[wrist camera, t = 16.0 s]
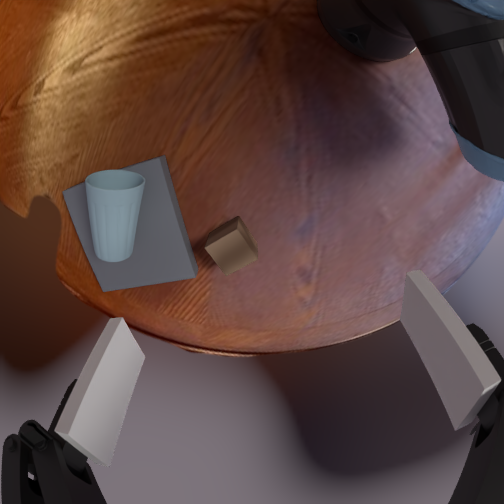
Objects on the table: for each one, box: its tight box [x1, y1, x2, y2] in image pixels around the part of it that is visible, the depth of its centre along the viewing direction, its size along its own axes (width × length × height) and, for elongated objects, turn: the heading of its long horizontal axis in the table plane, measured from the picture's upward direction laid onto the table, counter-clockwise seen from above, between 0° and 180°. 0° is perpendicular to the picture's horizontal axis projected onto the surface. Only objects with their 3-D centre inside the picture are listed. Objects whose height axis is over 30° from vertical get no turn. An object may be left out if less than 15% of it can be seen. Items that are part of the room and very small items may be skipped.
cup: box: [85, 170, 145, 262], centre depth 33 cm, size 8×8×10 cm
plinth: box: [63, 155, 198, 292], centre depth 40 cm, size 18×17×2 cm
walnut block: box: [205, 216, 258, 276], centre depth 40 cm, size 5×5×5 cm
